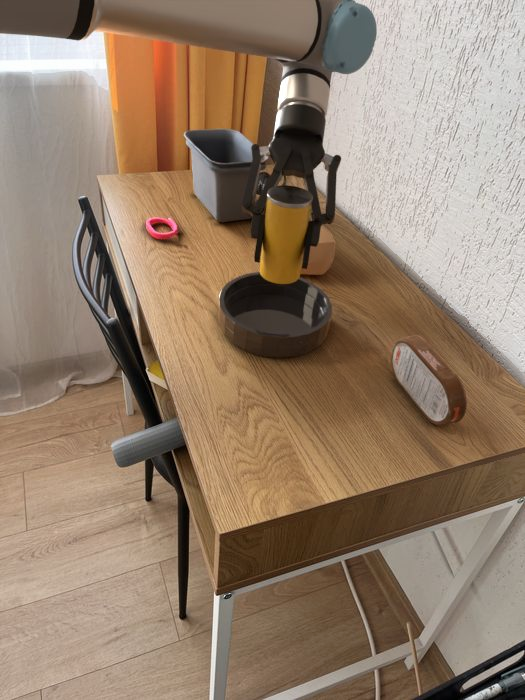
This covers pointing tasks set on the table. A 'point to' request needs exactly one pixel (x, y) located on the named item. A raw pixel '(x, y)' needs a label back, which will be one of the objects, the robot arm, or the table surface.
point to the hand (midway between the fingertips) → (280, 262)
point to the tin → (428, 381)
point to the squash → (321, 254)
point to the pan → (274, 316)
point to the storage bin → (221, 171)
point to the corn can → (285, 233)
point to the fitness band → (161, 235)
